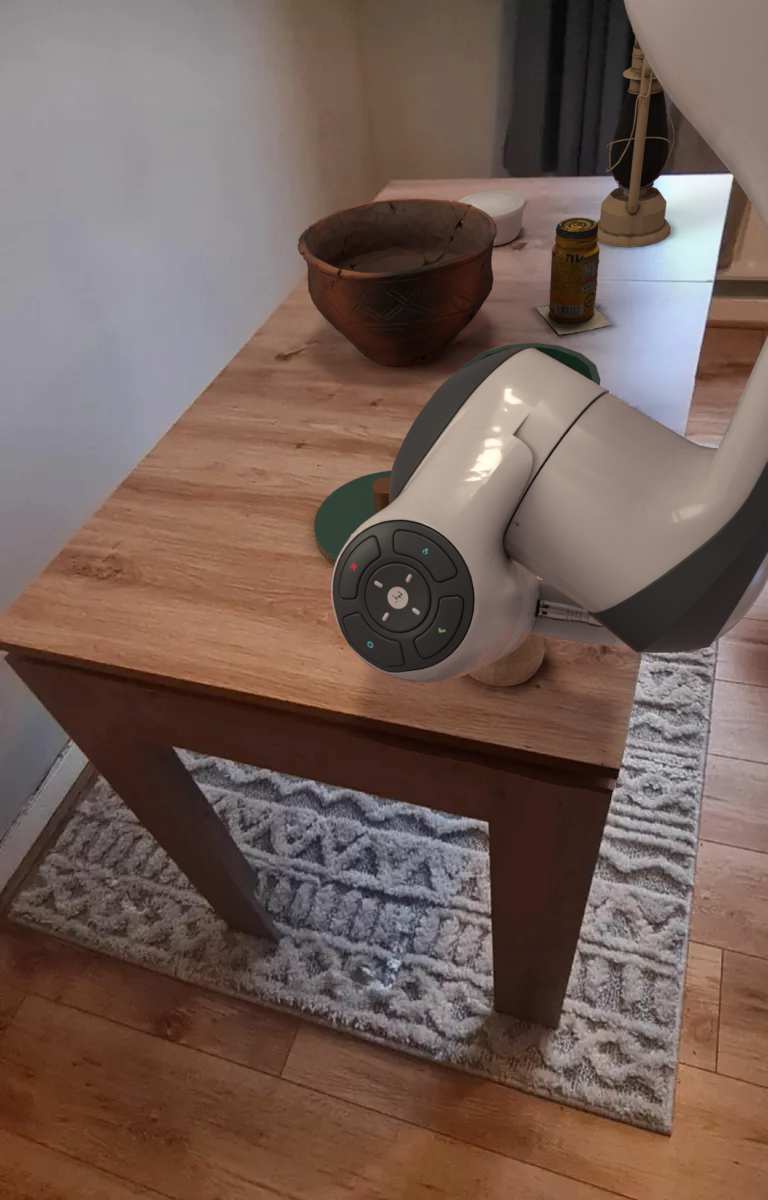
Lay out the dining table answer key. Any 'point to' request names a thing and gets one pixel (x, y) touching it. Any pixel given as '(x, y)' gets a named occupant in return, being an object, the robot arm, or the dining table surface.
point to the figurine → (514, 664)
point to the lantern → (638, 163)
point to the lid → (350, 510)
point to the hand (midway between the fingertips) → (501, 597)
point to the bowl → (400, 274)
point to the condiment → (574, 278)
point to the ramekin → (500, 211)
